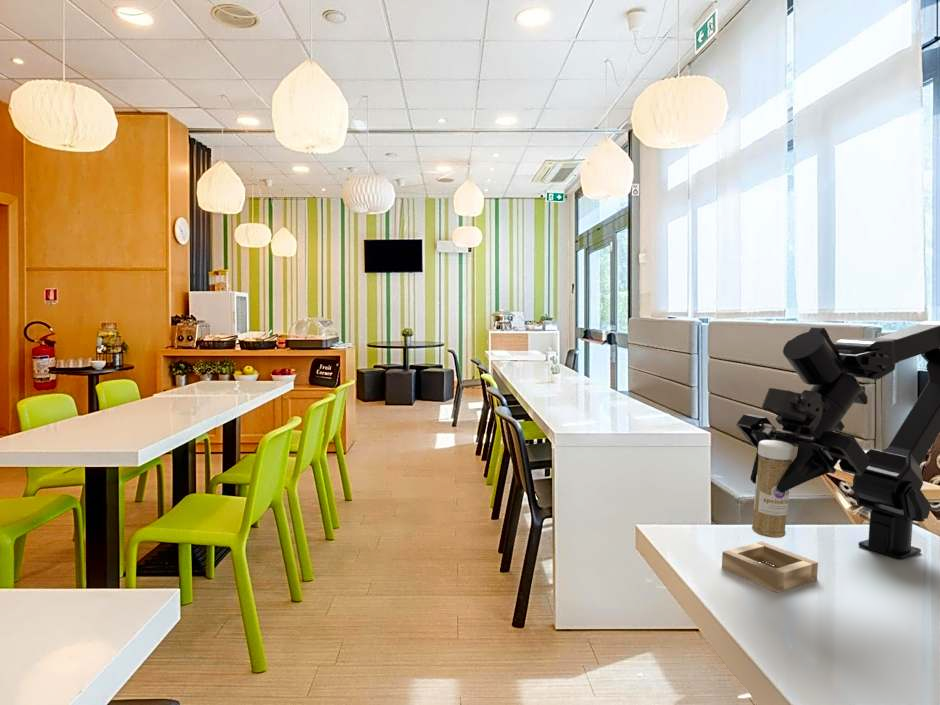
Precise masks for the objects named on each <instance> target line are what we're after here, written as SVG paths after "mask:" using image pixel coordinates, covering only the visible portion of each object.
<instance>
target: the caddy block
mask: <svg viewBox="0 0 940 705" xmlns="http://www.w3.org/2000/svg"><path fill="white" fill-rule="evenodd" d="M721 554H722V555H721V569H723V568H724V569H723V570H725V569H726V570H725V571H727V570H728V572H730V573H732V574H734V573H735V574H734V575H736V574H737V576H739V577H741V578H743V577H744V578H743V579H745V578H746V579H745V580H748V581H749V582H753V583H754V584H757V585H760V586H761V587H764V588H766V589H768V590H771V591H773V592H774V593H779V592H782V591H786V590H788V589H792V588H795V587H797V586H798V587H799V586H801V585H805V584H808V583H810V582H813V581H816V580H818V571H819V562H818V561H815V560H813V559H810V558H807V557H804V556H802V555H799V554H797V553H794V552H792V551H789V550H785V549H783V548H781V547H778V546H775V545H772V544H770V543H768V542H765V541H759V542H755V543H750V544H746V545H742V546H739V547H735V548H732V549H727V550H725V551H722V553H721ZM762 561H764V562H762ZM759 562H762V563H759ZM765 562H767V563H769V564H768V565H766V564H767V563H766V564H765ZM770 564H771V565H770ZM772 565H774V566H776V567H775V568H773V567H774V566H772ZM771 566H772V567H771ZM777 567H778V568H777Z"/></svg>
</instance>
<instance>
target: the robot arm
mask: <svg viewBox="0 0 940 705" xmlns="http://www.w3.org/2000/svg"><path fill="white" fill-rule="evenodd" d="M782 349H783V350H782V353H783V355H784V357H785V359H787V362H788V363H789V364H790V365H791V367H792V368H793V370H794V371H795V373H796V374H797V376H798V377H799V378H800V379H801V381H802V382H803V383H804V384H807V385H808V386H810V385H811V386H812V387H810V389H809V390H807V389H805V390H803V391H801V393H800V392H794V391H791V390H785V389H782V388H781V389H780V388H774V387H769V388H768V390H767V393H766V395H765V397H764V399H763V403H762V405H761V409H762V410H764V411H769V412H770V413H773V414H774V415H776V418H775V421H776V422H777V423H778V424H779V425H781V426H782V428H780V429H779V428H777V427H775V426H774V425H773V424H772V422H771V421H770V420H769V418H768V417H767V416H761V415H757V414H751V413H749V414H748V413H746V414H743V415H742V416H741V417H740V419H739V420H738V421H737V423H736V426H737V428H738V429H739V431H740V432H741V433H742V434H743V436H745V437H746V439H747V440H748V442H749V443H750V444H751V445H752V446H753V447H754V448H756V454H755V459H754V462H753V466H752V470H751V474H750V481H751V482H752V484H755V485H756V476H757V471H758V460H759V457H758V455H759V454H758V445H759V442H760V441H762V440H776V441H782V442H786V443H789V444H791V445H793V447H794V448H796V449H797V453H796V456H795V457H794V459H792V462H791V465H790V466H789V468H788V469H787V471H786V472H785V474H784V475H783V476H782V478H781V480H780V481H779V483H778V485H777V490H778V491H779V492H781V493H783V492H785V491H787V490H789V491H790V490H791V489H793V488H795V487H798V486H800V485H802V484H804V483H807V482H809V481H811V480H814V479H815V478H819V477H821V476H824V475H827V474H833V475H834V474H835V473H836V472H837V469H836V468H835V466H836V465H837V464H838V465H839V467H840V470H841V471H842V472H844V473H848V474H850V475H853V478H852V487H853V490H854V496H855V500H856V505H857V507H858V506H859V507H863V508H867V509H870V512H869V513H870V515H869V524H868V525H869V526H868V537H867V538H868V539H865V540H861V541H859V542H858V546H859V547H862V548H865V549H868V550H871V551H874V552H877V553H880V554H883V555H886V556H889V557H892V558H895V559H898V560H900V559H902V560H903V559H905V558H907V557H911V556H914V555H918V554H920V553H922V549H921V548H920V547H916V546H913V545H912V538H913V523H914V522H925V520H926V519H928V518H929V515H930V512H931V509H932V504H931V503H930V502H929V500H928V499H927V498H926V495H925V494H924V493H923V491H922V490H921V489H922V487H923V485H924V481H923V475H922V469H921V465H922V464H923V463H922V462H924V460H925V458H926V456H927V455H928V453H929V451H930V450H931V448H932V447H933V445H934V444H935V441H936V439H937V438H938V437H939V435H940V320H924V321H920V322H919V323H918V324H915V325H912V326H910V327H906V328H903V329H901V330H897V331H893V332H890V333H887V334H884V335H881V336H879V337H872V338H871V337H869V338H868V337H867V338H857V337H856V338H842V339H841V338H840V339H839V340H837V341H835V342H834V343H833V341H832V339H831V338H830V335H829V333H828V331H827V330H826V328H825V327H818V326H817V327H816V326H812V327H811V328H810V329H809V330H808V331H807V332H803V333H800V334H798V335H796V336H795V337H793V338H792V339H791V340H788V341H787V342H786V343H785V344H784V346H783V348H782ZM920 355H921V357H922V358H923V359H924V360H925V361H926V362H927V364H926V365H925V368H926V371H927V376H928V377H927V378H928V382H927V383H926V385H925V387H924V389H923V390H922V392H921V394H920V395H919V396H918V398H917V400H916V401H915V403H914V405H913V406H912V407H911V409H910V411H909V412H908V414H907V415H906V418H904V421H903V422H902V424H901V425H900V427H899V428H898V430H897V431H896V433H895V435H894V437H893V438H892V439H891V442H890V443H889V445H888V446H887V447H886V448H885V449H883V450H878V449H875V448H874V449H872V448H870V449H869V450H867V451H866V452H865V450H864V449H863V448H862V446H861V445H860V443H859V442H858V441H857V439H856V437H854V435H851V434H847V433H841V432H842V431H843V429H845V425H844V423H843V421H842V420H843V418H844V417H845V416H846V414H847V412H848V411H849V410H850V408H851V407H852V406H853V405H854V404H860V405H867V404H868V394H867V393H866V386H864V385H860V383H859V381H858V380H857V379H865V380H874V381H875V380H880V379H883V378H884V377H886V376H887V375H889V374H890V373H892V372H893V371H895V369H896V364H898V363H899V362H902V361H905V360H908V359H911V358H914V357H917V356H920Z"/></svg>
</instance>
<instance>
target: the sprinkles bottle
mask: <svg viewBox="0 0 940 705" xmlns="http://www.w3.org/2000/svg"><path fill="white" fill-rule="evenodd" d="M794 448H795V447H793V445H791V444H789V443H786V442H782V441H776V440H762V441H760V442H759V445H758V454H759V455H758V457H759V460H758V471H757V476H756V484H755V488H754V489H755V490H754V503H753V521H752V525H751V529H752V531H753V532H754V533H755V534H757V535H759V536H761V537H765V538H770V539H771V538H772V539H781V538H784V537H785V536H786V534H787V533H786V523H787V514H788V511H789V510H788V508H789V507H788V506H789V496H790V495H789V494H790V489H789V490H787V491H785V492H783V493H781V492H779V491H778V490H777V485H778V483H779V481H780V480H781V478H782V476H783V475H784V474H785V472H786V471H787V469H788V468H789V466H790V465H791V463H792V462H793V458H794V450H795V449H794Z"/></svg>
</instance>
